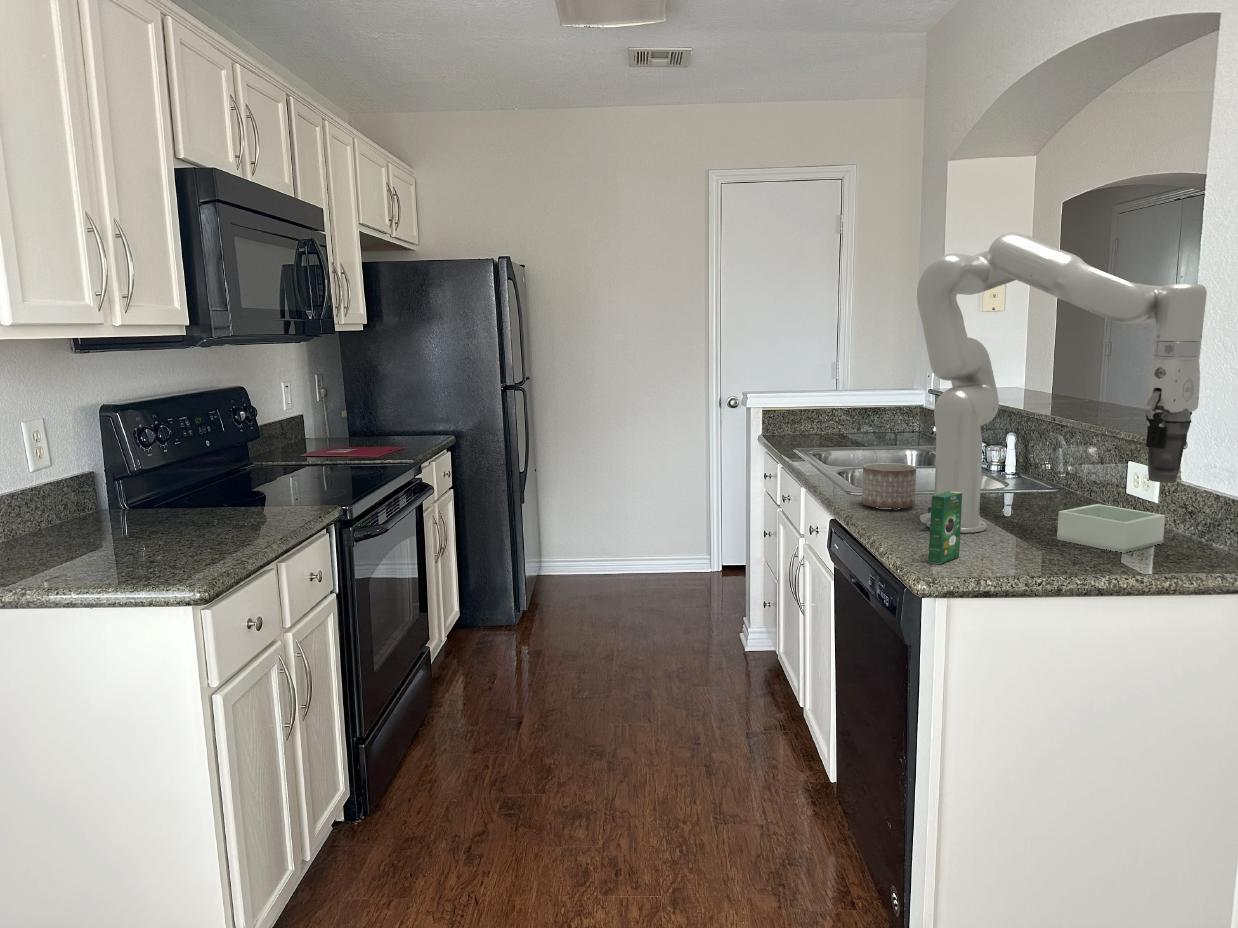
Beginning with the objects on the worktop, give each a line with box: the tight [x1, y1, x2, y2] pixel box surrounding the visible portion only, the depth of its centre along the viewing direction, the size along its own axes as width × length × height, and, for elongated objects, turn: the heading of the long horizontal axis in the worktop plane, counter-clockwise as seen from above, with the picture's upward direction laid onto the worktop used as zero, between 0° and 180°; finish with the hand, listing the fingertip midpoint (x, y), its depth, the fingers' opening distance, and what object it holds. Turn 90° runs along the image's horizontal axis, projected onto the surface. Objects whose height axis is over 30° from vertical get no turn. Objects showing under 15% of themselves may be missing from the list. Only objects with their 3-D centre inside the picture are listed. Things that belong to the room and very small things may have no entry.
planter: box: [861, 462, 917, 509], centre depth 215 cm, size 13×13×10 cm
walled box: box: [1056, 503, 1166, 554], centre depth 177 cm, size 14×14×6 cm
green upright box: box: [927, 491, 962, 565], centre depth 164 cm, size 8×3×13 cm, turn 134°
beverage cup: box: [1145, 408, 1192, 484], centre depth 162 cm, size 7×7×20 cm
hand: (1166, 445), depth 163 cm, fingers closed on beverage cup, 6 cm apart
